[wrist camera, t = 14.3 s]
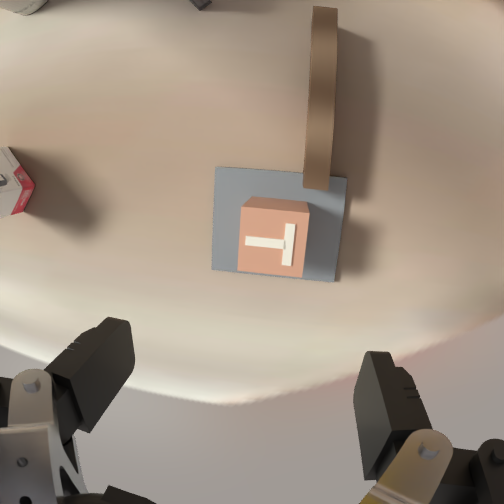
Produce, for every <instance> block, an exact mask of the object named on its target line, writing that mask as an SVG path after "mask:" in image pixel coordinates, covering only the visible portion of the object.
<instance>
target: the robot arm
mask: <svg viewBox="0 0 504 504" xmlns="http://www.w3.org/2000/svg"><path fill="white" fill-rule="evenodd" d="M47 1H48V0H0V8H2V9H5V10H9V11H12V12H14V13H18V14H21V15H28V14H31V13H33V12H35V11H36V10H38V9H39V8H40V7H42V6H43V5H44V4H45V3H46V2H47ZM134 365H135V354H134V347H133V340H132V333H131V326H130V323H129V322H128V321H126V320H122V319H117V318H112V317H107V318H106V319H105V320H104V321H103V322H102V323H100V324H99V325H98V326H97V327H96V328H95V327H94V328H92V329H90V330H88V331H85V332H83V333H82V334H81V335H80V336H79V337H77V338H76V339H75V340H74V343H71V344H70V345H69V346H68V347H67V349H65V350H64V351H63V352H62V353H61V354H60V355H58V356H57V357H56V358H55V359H54V360H53V361H52V362H51V363H50V364H49V365H48V366H47V367H46V368H45V369H44V370H40V369H28V370H25V371H23V372H21V373H19V374H18V375H16V377H15V378H14V379H11V378H4V377H0V504H156V503H154V502H152V501H150V500H148V499H147V498H144V497H141V496H138V495H135V494H132V493H129V492H126V491H123V490H121V489H118V488H115V487H112V486H108V487H107V489H106V491H105V493H104V494H98V493H89V492H88V490H87V488H86V485H85V483H84V479H83V475H82V470H81V466H80V461H79V456H78V451H77V445H76V440H75V436H74V432H75V431H76V430H77V429H80V430H82V431H85V432H87V433H90V432H91V431H92V429H93V428H94V426H95V425H96V423H97V422H98V421H99V419H100V418H101V416H102V415H103V413H104V412H105V410H106V409H107V408H108V406H109V404H110V403H111V402H112V400H113V399H114V397H115V396H116V394H117V393H118V392H119V390H120V389H121V387H122V386H123V385H124V383H125V382H126V380H127V379H128V377H129V376H130V375H131V373H132V371H133V369H134ZM353 403H354V409H355V416H356V422H357V429H358V436H359V442H360V449H361V457H362V464H363V473H364V480H376V481H377V483H376V485H375V486H373V487H372V488H371V490H370V491H369V492H368V493H367V495H366V496H365V497H364V498H363V500H362V501H361V502H360V503H359V504H504V441H503V440H500V439H490V440H487V441H485V442H484V443H483V444H482V445H481V446H480V448H479V449H478V451H474V450H466V449H458V448H453V446H452V444H451V442H450V440H449V439H448V438H447V437H446V436H445V435H444V434H442V433H440V432H439V431H436V430H433V429H432V426H431V423H430V421H429V418H428V415H427V413H426V410H425V408H424V405H423V403H422V400H421V398H420V395H419V393H418V390H416V385H415V383H414V381H413V378H412V376H411V375H409V373H408V372H407V371H406V370H405V369H404V368H403V367H395V365H394V362H393V359H392V357H391V354H390V353H389V352H378V351H367V352H366V353H365V356H364V359H363V362H362V366H361V369H360V372H359V376H358V379H357V383H356V386H355V389H354V399H353Z"/></svg>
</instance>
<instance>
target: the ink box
mask: <svg viewBox="0 0 504 504" xmlns="http://www.w3.org/2000/svg"><path fill="white" fill-rule="evenodd" d="M34 187H35V184H34V183H33V181H32V180H31V179H30V177H29V176H28V175H27V173H26V172H25V171H24V169H23V168H22V166H21V165H20V164H19V162H18V161H17V160H16V158H15V157H14V155H13V154H12V152H11V151H10V150H9V148H8V147H0V218H3V217H6V216H9V215H13V214H17V213H20V212H23V210H24V208H25V206H26V204H27V202H28V200H29V198H30V196H31V194H32V192H33V189H34Z"/></svg>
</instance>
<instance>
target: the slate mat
mask: <svg viewBox="0 0 504 504" xmlns="http://www.w3.org/2000/svg"><path fill="white" fill-rule="evenodd" d="M302 184H303V173H297V172H286V171H274V170H261V169H247V168H231V167H215V187H214V210H213V239H212V270H219V271H228V272H237V273H246V274H255V275H265V276H275V277H284V278H294V279H304V280H314V281H325V282H334V278H335V272H336V265H337V258H338V251H339V244H340V237H341V230H342V222H343V214H344V205H345V196H346V187H347V178H343V177H335V176H330V178H329V188H328V191H325V190H315V189H306V188H303V185H302ZM252 196H254V197H266V198H276V199H287V200H297V201H306V202H307V204H308V209H309V213H310V214H309V223H308V232H307V241H306V249H305V257H304V265H303V273H302V278H300V277H291V276H281V275H272V274H263V273H254V272H245V271H237V268H238V250H239V234H240V217H241V206H242V205H243V204H244V203H245V202H246V201H248V200H249V199H250V198H251V197H252Z"/></svg>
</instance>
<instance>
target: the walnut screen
mask: <svg viewBox="0 0 504 504" xmlns="http://www.w3.org/2000/svg"><path fill="white" fill-rule="evenodd" d="M336 70H337V8H329V7H320V6H313V16H312V33H311V59H310V80H309V99H308V115H307V130H306V144H305V158H304V170H303V184H302V185H303V188H306V189H315V190H325V191H328V188H329V178H330V167H331V155H332V142H333V128H334V112H335V94H336Z"/></svg>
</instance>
